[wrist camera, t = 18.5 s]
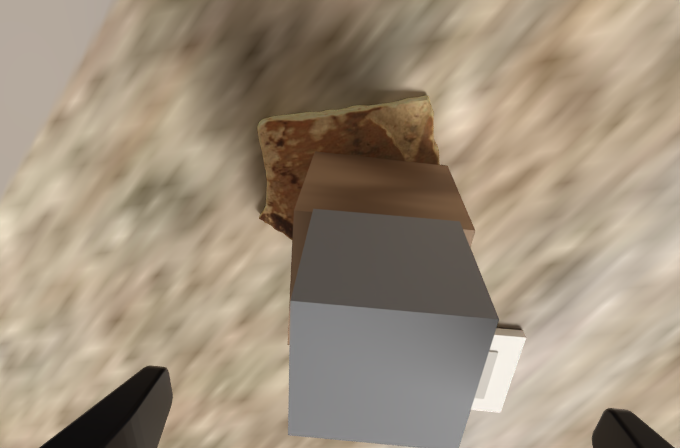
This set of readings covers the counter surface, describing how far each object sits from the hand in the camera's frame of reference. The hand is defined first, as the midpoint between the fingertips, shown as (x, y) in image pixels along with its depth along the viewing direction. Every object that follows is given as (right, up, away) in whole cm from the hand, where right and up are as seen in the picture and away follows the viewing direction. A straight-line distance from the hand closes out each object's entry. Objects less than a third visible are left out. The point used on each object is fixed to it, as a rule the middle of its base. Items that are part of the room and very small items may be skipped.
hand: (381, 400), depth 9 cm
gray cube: (0, +2, +4) cm, 4 cm away
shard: (+1, +5, +10) cm, 11 cm away
